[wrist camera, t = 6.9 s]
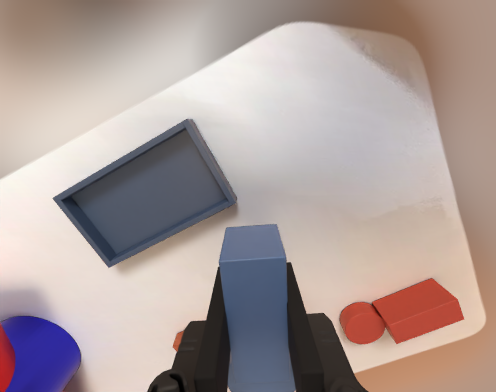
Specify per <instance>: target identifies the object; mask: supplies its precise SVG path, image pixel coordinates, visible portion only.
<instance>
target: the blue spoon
mask: <svg viewBox="0 0 496 392" xmlns="http://www.w3.org/2000/svg"><path fill="white" fill-rule="evenodd" d="M219 267H220V275H221V282H222V290H223V297H224V305H225V311H226V318H227V326H228V334H229V341H230V349H231V351H230V363H229V374H228V387H229V389H230V391H231V392H294V391H295V390H296V388H295V382H294V376H293V371H292V365H291V359H290V354H289V348H288V324H287V302H288V295H287V265H286V255H285V251H284V248H283V244H282V241H281V237H280V234H279V230H278V227H277V224H270V225H255V226H241V227H227V228H226V231H225V236H224V241H223V245H222V250H221V254H220V259H219Z"/></svg>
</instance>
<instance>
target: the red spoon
mask: <svg viewBox="0 0 496 392" xmlns="http://www.w3.org/2000/svg"><path fill="white" fill-rule="evenodd" d="M372 304H373V306H374V307H373V306H372V305H370V304H368V303H364V302H358V303H353V304H351V305H349V306H347V307H346V308H345V309H344V310H343V311H342V313H341V315H340V323H341V326H342V328H343V330H344V332H345V334H346V336H347V338H348V339H349V340H350V341H352V342H354V343H357V344H368V343H372V342H374V341H376V340H377V339H379V338H380V337H381V336H382V334H383V333H384V330H385V328H386V329H387V331H388V332H389V334H390V335H391V337H392V338H393V340H394V341H395V343H396V344H398V343H401V342H404V341H406V340H409V339H412V338H414V337H417V336H420V335H423V334H425V333H428V332H431V331H434V330H436V329H439V328H442V327H444V326H447V325H450V324H453V323H455V322H458V321H461V320H464V317H463V314H462V311H461V308H460V305H459V302H458V299H457V298H455V297H454V296H453V295H452V294H451V293H449V292H448V291H447V290H446V289H445V288H443V287H442V286H441V285H440V284H439V283H437V282H436V281H435V280H434V279H432V278H431V279H429V280H426V281H424V282H421V283H419V284H416V285H414V286H411V287H409V288H406V289H404V290H401V291H399V292H396V293H394V294H391V295H389V296H386V297H384V298H381V299H379V300H376V301H374V302H372Z"/></svg>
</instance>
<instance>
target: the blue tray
mask: <svg viewBox="0 0 496 392" xmlns="http://www.w3.org/2000/svg"><path fill="white" fill-rule="evenodd" d="M53 200H54V201H55V202H56V203H57V205H58V206H59V207H60V208H61V209H62V211H63V212H64V213H65V214H66V216H67V217H68V218H69V219H70V221H71V222H72V223H73V224H74V226H75V227H76V228H77V229H78V230H79V232H80V233H81V234H82V235H83V237H84V238H85V239H86V240H87V242H88V243H89V244H90V245H91V246H92V248H93V249H94V250H95V251H96V253H97V254H98V255H99V256H100V258H101V259H102V260H103V261H104V263H105V264H106V265H107V266H108V267H111V266H113V265H115V264H117V263H119V262H121V261H123V260H125V259H127V258H129V257H131V256H133V255H135V254H137V253H139V252H141V251H143V250H145V249H147V248H149V247H151V246H153V245H155V244H157V243H159V242H161V241H163V240H165V239H167V238H169V237H170V236H172V235H174V234H176V233H178V232H180V231H182V230H184V229H186V228H188V227H190V226H192V225H194V224H196V223H198V222H200V221H202V220H204V219H206V218H208V217H210V216H212V215H214V214H216V213H218V212H220V211H222V210H224V209H226V208H227V207H229V206H231V205H233V204H235V203H236V200H237V197H236V195H235V193H234V192H233V190H232V188H231V186H230V185H229V183H228V181H227V179H226V178H225V176H224V174H223V172H222V171H221V169H220V167H219V165H218V164H217V162H216V160H215V158H214V157H213V155H212V153H211V151H210V150H209V148H208V146H207V144H206V143H205V141H204V139H203V137H202V136H201V134H200V132H199V130H198V129H197V127H196V125H195V123H194V122H193V120H192V119H186V120H184V121H183V122H181V123H179V124H177V125H176V126H174V127H172V128H171V129H169V130H167V131H166V132H164V133H162V134H160V135H159V136H157V137H155V138H154V139H152V140H150V141H149V142H147V143H145V144H143V145H142V146H140V147H138V148H137V149H135V150H133V151H132V152H130V153H128V154H126V155H125V156H123V157H121V158H120V159H118V160H116V161H115V162H113V163H111V164H110V165H108V166H106V167H104V168H103V169H101V170H99V171H98V172H96V173H94V174H93V175H91V176H89V177H87V178H86V179H84V180H82V181H81V182H79V183H77V184H76V185H74V186H72V187H70V188H69V189H67V190H65V191H64V192H62V193H60V194H59V195H57V196H55V197H53Z"/></svg>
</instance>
